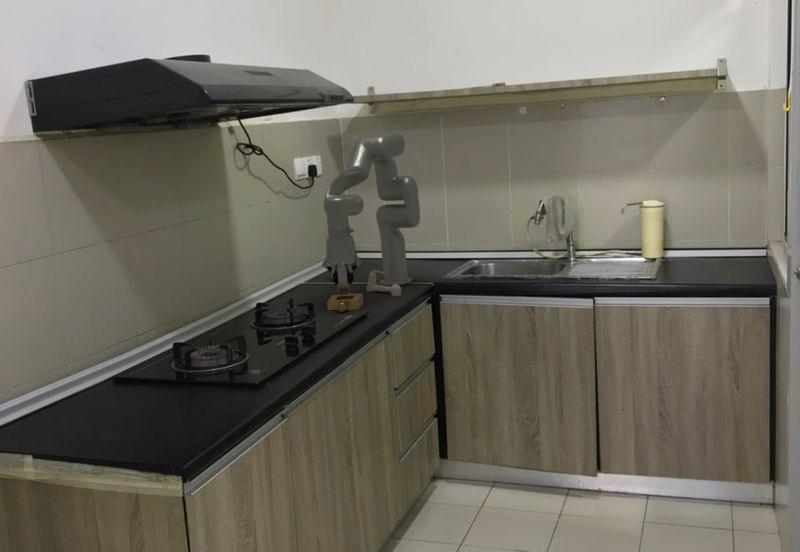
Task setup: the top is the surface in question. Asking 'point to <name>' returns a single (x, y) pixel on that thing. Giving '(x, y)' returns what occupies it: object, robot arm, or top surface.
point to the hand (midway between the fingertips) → (343, 283)
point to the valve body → (345, 302)
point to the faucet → (372, 285)
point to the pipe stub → (342, 277)
